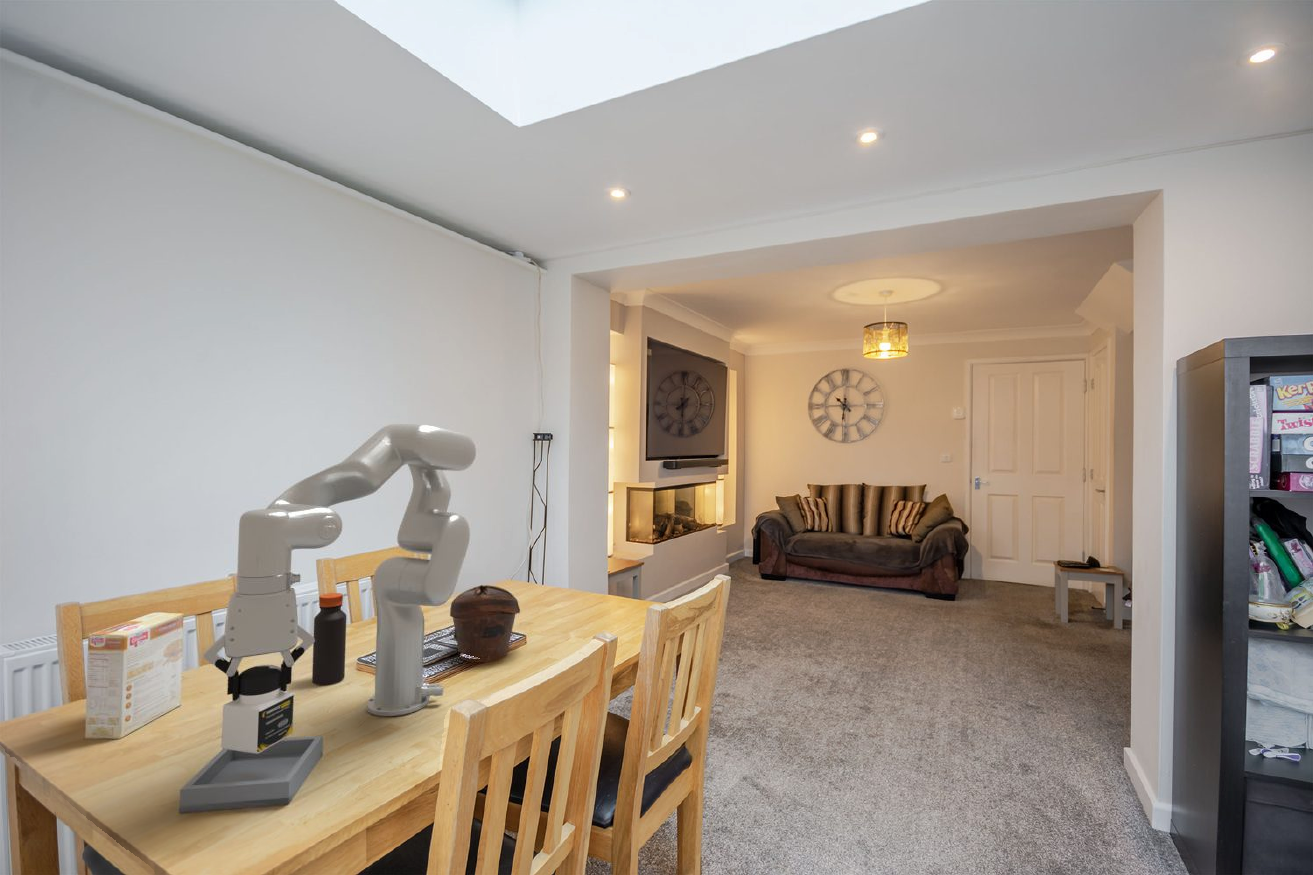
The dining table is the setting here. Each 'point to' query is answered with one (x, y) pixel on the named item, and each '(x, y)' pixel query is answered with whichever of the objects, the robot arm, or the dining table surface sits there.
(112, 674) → the coffeecake box
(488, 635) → the brown lidded pot
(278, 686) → the medicine bottle
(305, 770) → the grey tray
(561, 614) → the dining table surface
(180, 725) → the dining table surface
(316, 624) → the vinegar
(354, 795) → the dining table surface
